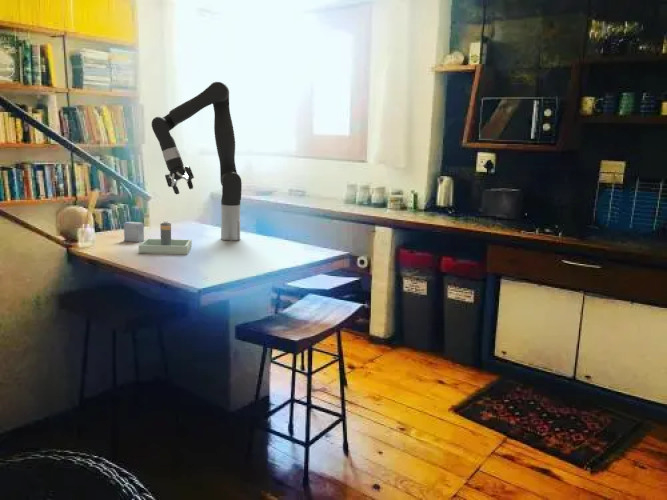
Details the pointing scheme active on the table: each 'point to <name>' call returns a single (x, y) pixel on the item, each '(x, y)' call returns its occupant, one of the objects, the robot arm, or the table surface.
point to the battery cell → (165, 233)
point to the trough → (165, 247)
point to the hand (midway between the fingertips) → (184, 191)
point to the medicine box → (134, 231)
